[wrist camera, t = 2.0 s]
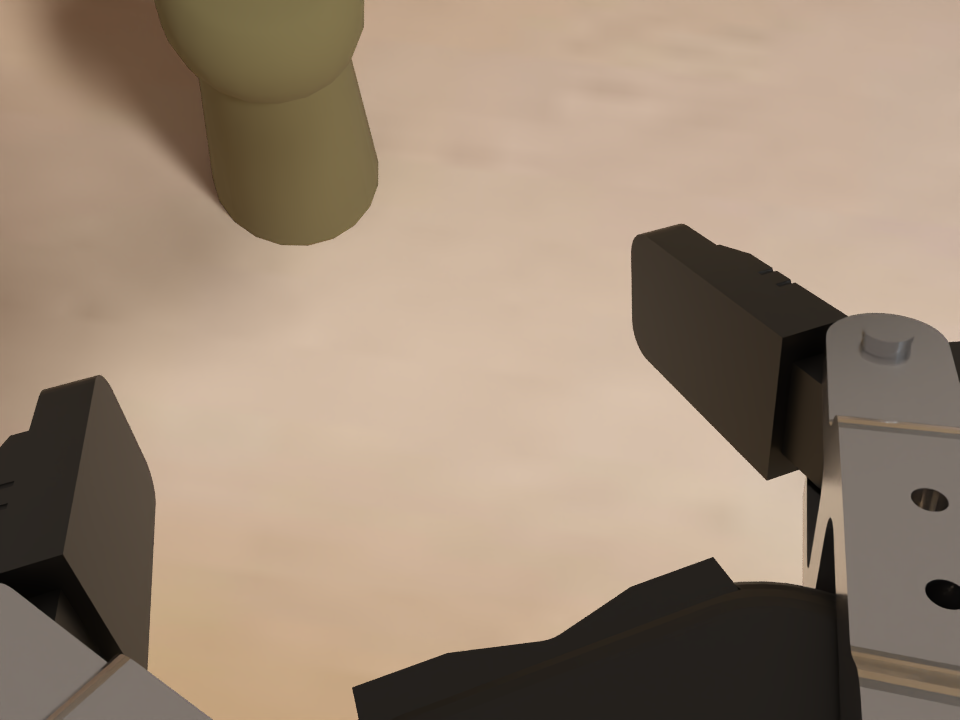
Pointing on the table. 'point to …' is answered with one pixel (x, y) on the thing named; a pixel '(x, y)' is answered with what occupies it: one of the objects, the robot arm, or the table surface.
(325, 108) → the olive knob
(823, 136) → the table surface
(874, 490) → the robot arm
